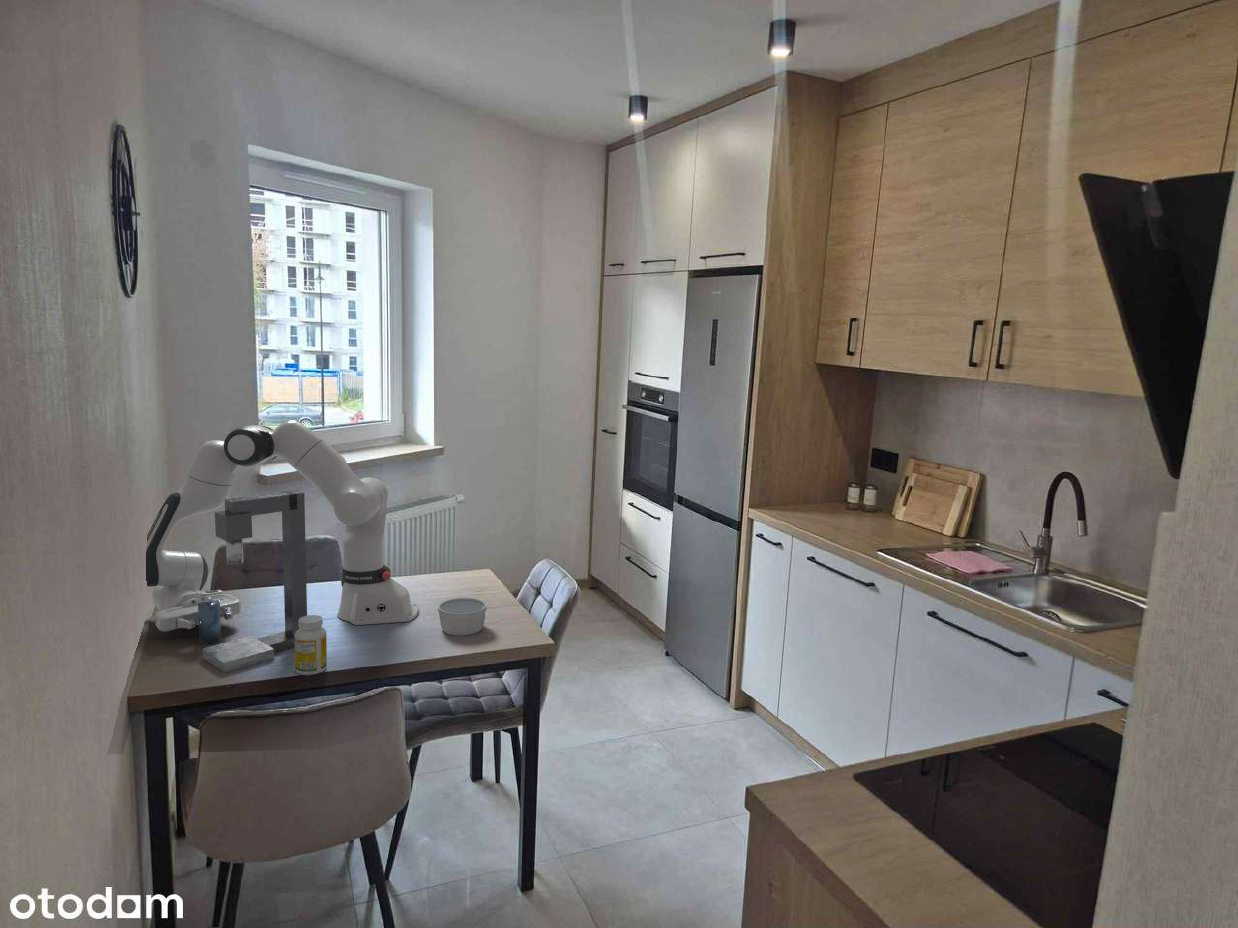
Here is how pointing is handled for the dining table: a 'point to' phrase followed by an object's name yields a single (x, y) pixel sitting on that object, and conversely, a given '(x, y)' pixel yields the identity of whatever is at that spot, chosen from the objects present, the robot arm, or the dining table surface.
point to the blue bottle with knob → (209, 621)
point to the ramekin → (462, 616)
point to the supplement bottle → (310, 646)
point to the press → (239, 526)
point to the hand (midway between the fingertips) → (211, 620)
